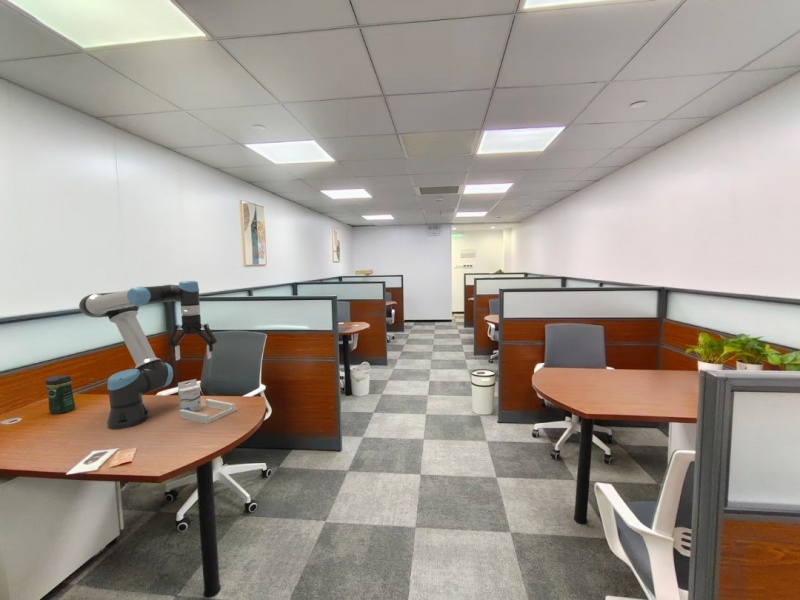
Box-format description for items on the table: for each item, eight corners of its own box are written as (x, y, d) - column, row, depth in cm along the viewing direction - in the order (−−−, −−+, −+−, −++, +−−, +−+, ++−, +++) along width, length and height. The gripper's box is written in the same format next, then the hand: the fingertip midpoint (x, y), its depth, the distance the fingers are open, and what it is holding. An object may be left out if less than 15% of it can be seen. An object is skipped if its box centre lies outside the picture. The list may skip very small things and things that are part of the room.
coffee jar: (79, 408, 177) (74, 373, 175) (61, 414, 169) (56, 378, 167) (63, 407, 178) (59, 373, 177) (46, 414, 171) (40, 378, 169)
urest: (179, 417, 161) (179, 410, 161) (208, 405, 175) (208, 398, 174) (207, 423, 153) (206, 416, 153) (235, 410, 167) (234, 403, 167)
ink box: (182, 414, 164) (179, 385, 163) (179, 411, 168) (176, 382, 167) (201, 409, 170) (199, 380, 169) (199, 406, 174) (196, 378, 173)
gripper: (156, 316, 152) (160, 362, 154) (217, 314, 156) (219, 359, 158) (165, 313, 159) (168, 358, 162) (222, 312, 164) (225, 355, 166)
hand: (194, 359), depth 160 cm, fingers open, 13 cm apart
